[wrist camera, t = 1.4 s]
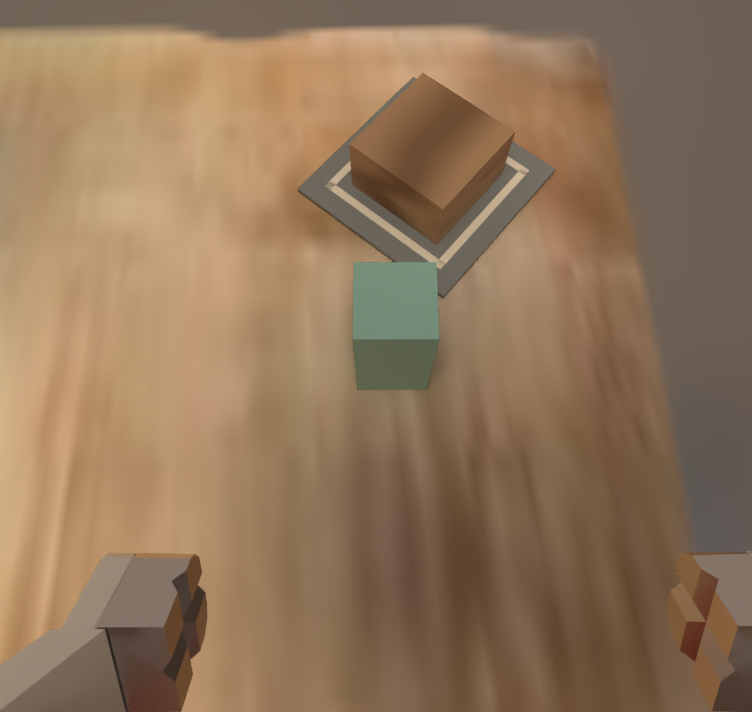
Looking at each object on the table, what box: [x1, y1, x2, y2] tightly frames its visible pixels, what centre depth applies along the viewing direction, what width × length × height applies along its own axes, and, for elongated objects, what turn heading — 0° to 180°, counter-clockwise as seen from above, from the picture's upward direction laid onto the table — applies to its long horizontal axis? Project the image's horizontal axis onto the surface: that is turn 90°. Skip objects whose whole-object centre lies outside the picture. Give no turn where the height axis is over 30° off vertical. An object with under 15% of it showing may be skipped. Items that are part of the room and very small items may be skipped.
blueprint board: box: [298, 77, 555, 298], centre depth 41 cm, size 12×12×1 cm
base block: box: [350, 73, 515, 245], centre depth 39 cm, size 7×7×4 cm
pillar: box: [353, 262, 439, 390], centre depth 33 cm, size 4×4×8 cm
